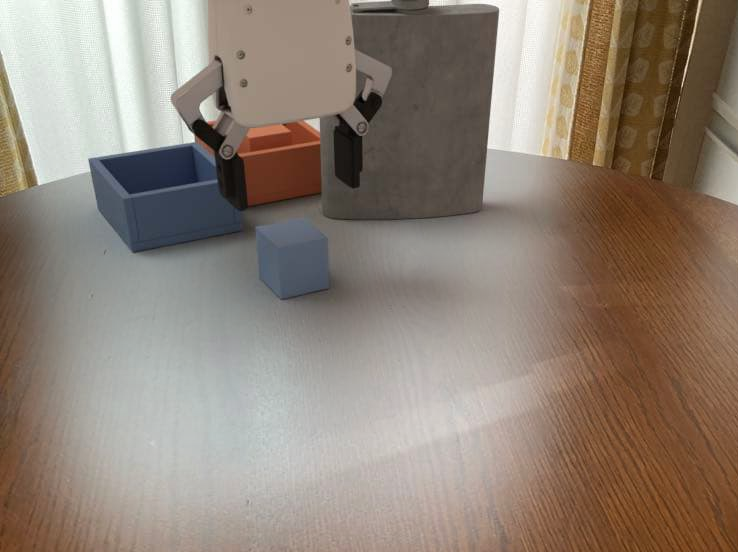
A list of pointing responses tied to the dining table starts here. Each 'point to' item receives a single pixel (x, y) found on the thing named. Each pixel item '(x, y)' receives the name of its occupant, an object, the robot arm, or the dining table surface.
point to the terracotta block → (265, 139)
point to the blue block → (292, 257)
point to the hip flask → (419, 112)
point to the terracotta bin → (282, 167)
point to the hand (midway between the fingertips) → (293, 193)
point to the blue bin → (162, 196)
